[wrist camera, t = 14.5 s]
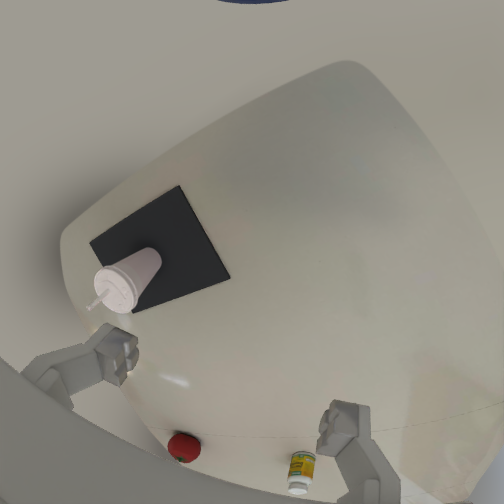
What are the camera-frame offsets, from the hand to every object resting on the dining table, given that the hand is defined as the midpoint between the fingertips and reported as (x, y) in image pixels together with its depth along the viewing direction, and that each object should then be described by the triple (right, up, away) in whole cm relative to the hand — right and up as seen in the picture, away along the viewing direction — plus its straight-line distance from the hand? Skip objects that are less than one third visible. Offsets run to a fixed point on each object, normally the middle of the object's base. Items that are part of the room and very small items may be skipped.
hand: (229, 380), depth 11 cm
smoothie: (-14, +4, +32) cm, 35 cm away
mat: (-14, +4, +32) cm, 35 cm away
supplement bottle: (+12, -41, +46) cm, 63 cm away
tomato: (-15, -41, +53) cm, 68 cm away
